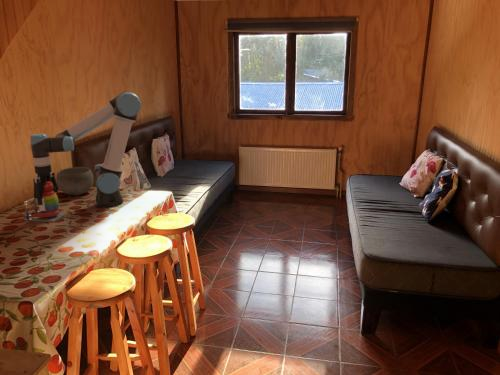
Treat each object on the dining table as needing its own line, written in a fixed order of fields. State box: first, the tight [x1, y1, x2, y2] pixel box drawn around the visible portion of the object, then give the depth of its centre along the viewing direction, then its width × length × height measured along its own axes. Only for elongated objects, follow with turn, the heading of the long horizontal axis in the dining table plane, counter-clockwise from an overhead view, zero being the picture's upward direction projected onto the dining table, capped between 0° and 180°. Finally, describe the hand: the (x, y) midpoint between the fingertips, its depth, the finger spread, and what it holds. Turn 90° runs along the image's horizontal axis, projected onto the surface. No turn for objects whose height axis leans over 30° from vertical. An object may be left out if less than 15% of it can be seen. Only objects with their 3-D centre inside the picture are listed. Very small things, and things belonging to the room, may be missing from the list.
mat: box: [31, 212, 68, 223], centre depth 220 cm, size 12×12×1 cm
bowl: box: [56, 166, 94, 196], centre depth 260 cm, size 21×21×15 cm
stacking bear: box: [35, 181, 61, 218], centre depth 217 cm, size 11×10×18 cm
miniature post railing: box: [23, 196, 40, 222], centre depth 221 cm, size 8×16×9 cm, turn 170°
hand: (48, 207), depth 218 cm, fingers closed on stacking bear, 9 cm apart
